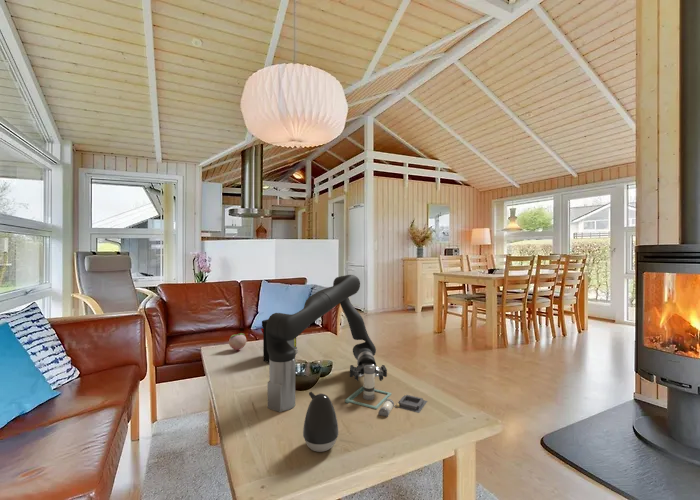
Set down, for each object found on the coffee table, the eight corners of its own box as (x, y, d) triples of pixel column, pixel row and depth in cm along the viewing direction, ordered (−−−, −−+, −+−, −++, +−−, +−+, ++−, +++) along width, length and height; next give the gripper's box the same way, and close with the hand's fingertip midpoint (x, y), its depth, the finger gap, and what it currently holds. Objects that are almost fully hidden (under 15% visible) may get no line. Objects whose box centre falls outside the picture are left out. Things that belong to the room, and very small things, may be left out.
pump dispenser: (323, 432, 107) (323, 383, 107) (345, 446, 100) (345, 394, 99) (295, 445, 100) (295, 393, 100) (317, 462, 93) (317, 406, 92)
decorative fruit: (236, 354, 181) (236, 335, 181) (226, 351, 185) (226, 333, 185) (250, 349, 189) (250, 331, 189) (240, 347, 193) (240, 329, 193)
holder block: (419, 415, 118) (419, 409, 118) (394, 409, 122) (394, 403, 122) (427, 403, 126) (427, 397, 126) (404, 398, 131) (404, 392, 131)
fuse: (388, 419, 115) (387, 409, 115) (378, 418, 116) (378, 408, 116) (394, 408, 122) (393, 399, 122) (385, 407, 124) (384, 398, 124)
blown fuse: (371, 401, 126) (372, 369, 126) (361, 399, 128) (362, 367, 128) (376, 397, 130) (376, 366, 129) (366, 394, 132) (367, 363, 131)
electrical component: (275, 364, 167) (275, 323, 166) (260, 360, 172) (260, 320, 172) (299, 354, 182) (299, 316, 181) (284, 351, 187) (284, 314, 186)
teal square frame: (376, 412, 120) (376, 407, 120) (345, 403, 126) (345, 399, 126) (391, 396, 132) (391, 392, 132) (362, 389, 138) (362, 386, 138)
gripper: (349, 353, 143) (350, 368, 127) (383, 353, 143) (388, 368, 127) (349, 371, 143) (349, 388, 127) (383, 371, 143) (388, 388, 127)
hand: (369, 378), depth 127 cm, fingers open, 8 cm apart
